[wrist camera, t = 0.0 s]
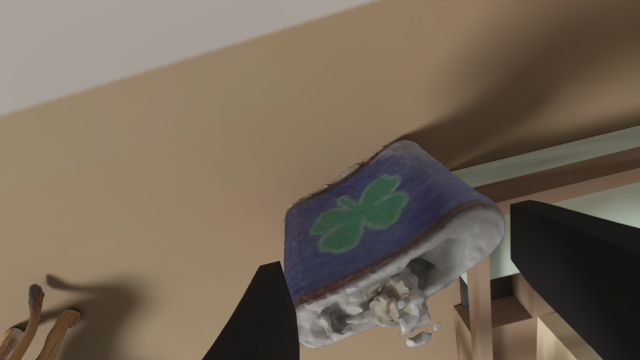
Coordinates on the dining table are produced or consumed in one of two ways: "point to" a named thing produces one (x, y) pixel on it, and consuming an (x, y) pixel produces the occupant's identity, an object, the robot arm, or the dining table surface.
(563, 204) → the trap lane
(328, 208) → the flask
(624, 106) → the dining table surface
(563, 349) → the maple block
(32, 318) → the lion figurine
